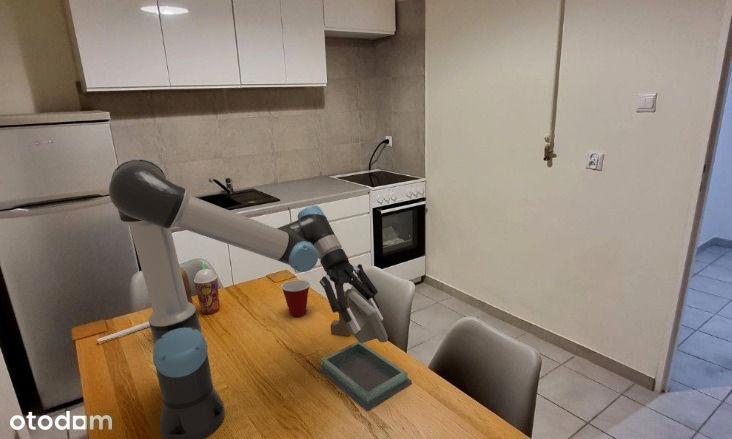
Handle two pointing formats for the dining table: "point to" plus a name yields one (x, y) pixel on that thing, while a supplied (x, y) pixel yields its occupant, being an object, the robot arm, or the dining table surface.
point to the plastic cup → (296, 296)
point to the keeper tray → (364, 374)
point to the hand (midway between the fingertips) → (369, 326)
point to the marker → (125, 331)
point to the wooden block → (340, 323)
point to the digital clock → (365, 319)
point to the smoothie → (207, 290)
